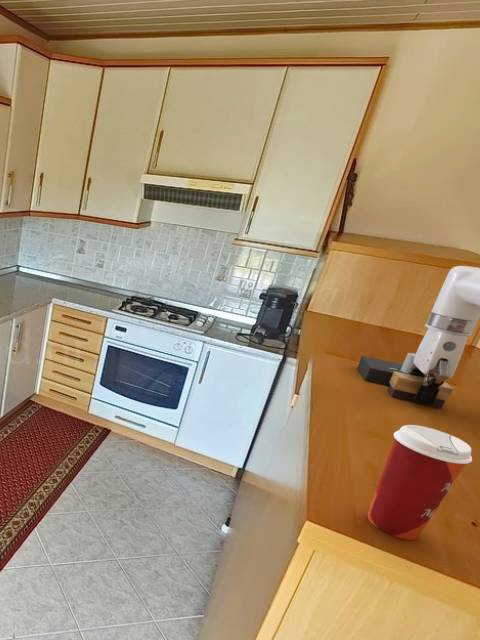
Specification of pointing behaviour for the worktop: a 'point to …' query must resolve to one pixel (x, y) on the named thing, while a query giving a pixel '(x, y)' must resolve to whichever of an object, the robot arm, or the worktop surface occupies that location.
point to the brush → (415, 388)
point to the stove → (378, 370)
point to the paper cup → (416, 479)
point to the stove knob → (408, 363)
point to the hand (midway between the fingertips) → (417, 395)
